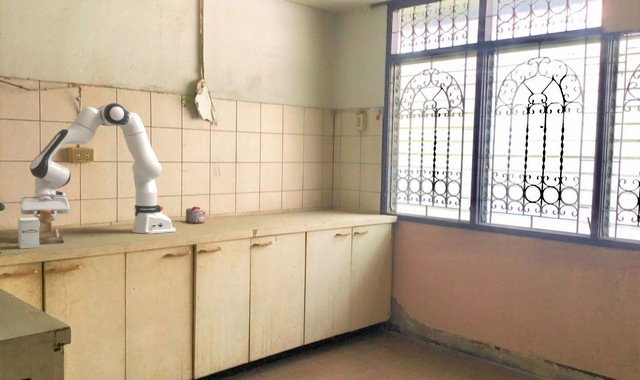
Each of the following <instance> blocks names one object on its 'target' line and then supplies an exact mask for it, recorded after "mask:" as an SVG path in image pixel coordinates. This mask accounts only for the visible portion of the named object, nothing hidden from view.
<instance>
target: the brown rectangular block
mask: <svg viewBox="0 0 640 380" xmlns="http://www.w3.org/2000/svg"><path fill="white" fill-rule="evenodd" d="M39 216H40V221H39V234H40V233H41V234H43V233H52V221H51V216H52V214H51V209H44V210H40V214H39Z"/></svg>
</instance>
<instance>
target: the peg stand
mask: <svg viewBox="0 0 640 380" xmlns="http://www.w3.org/2000/svg"><path fill="white" fill-rule="evenodd" d="M64 243H65V242H64V237H63V235H60V232H59V229H58V228H54V229H53V235H52V236H51V235H50V236H49V235H48V236H39V245H51V244H52V245H54V244H55V245H56V244H64Z"/></svg>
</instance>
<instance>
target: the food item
mask: <svg viewBox="0 0 640 380" xmlns="http://www.w3.org/2000/svg"><path fill="white" fill-rule="evenodd" d="M205 220H206V210H203V209H201V207H199V206H193V207H189V208H186V209H185V221H186V222H188V223H190V224H195V225H196V224H197V225H198V224H199V225H200V224H205Z"/></svg>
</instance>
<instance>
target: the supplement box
mask: <svg viewBox="0 0 640 380" xmlns="http://www.w3.org/2000/svg"><path fill="white" fill-rule="evenodd" d="M17 225H18V226H17V232H18V235H17V236H18V240H17V242H18V243H17V245H18V248H19V249H21V250H22V249H31V248H32V249H35V248H37V249H38V248H40V244H39V237H40V221H39V219H38V218H36V217H18V218H17Z"/></svg>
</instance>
